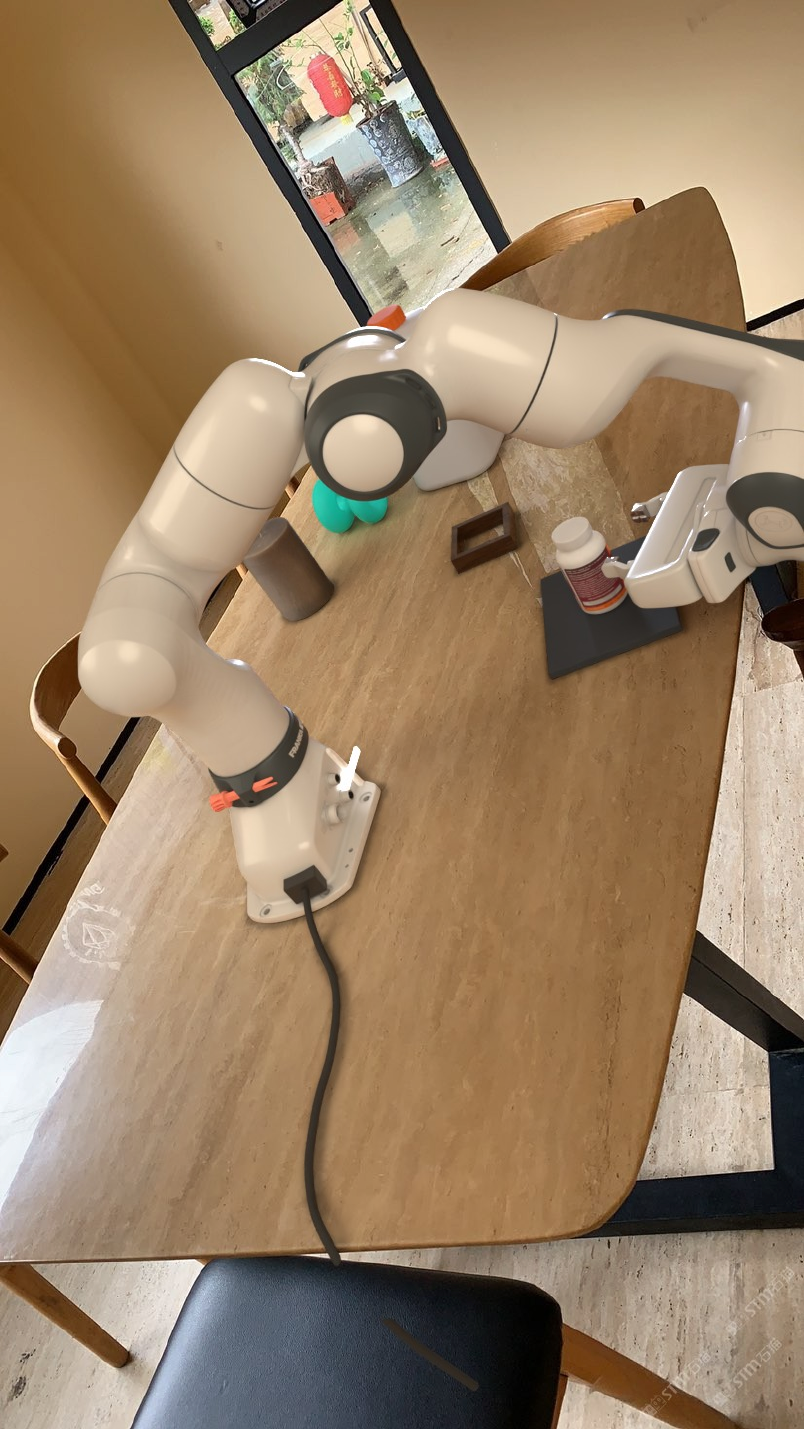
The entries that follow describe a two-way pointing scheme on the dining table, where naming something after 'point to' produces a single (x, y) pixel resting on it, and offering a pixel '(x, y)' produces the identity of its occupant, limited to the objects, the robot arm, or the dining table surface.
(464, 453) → the plastic bottle
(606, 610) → the pill bottle
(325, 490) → the teal spool
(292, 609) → the pillar candle
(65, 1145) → the dining table surface
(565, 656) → the mat
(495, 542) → the frame
